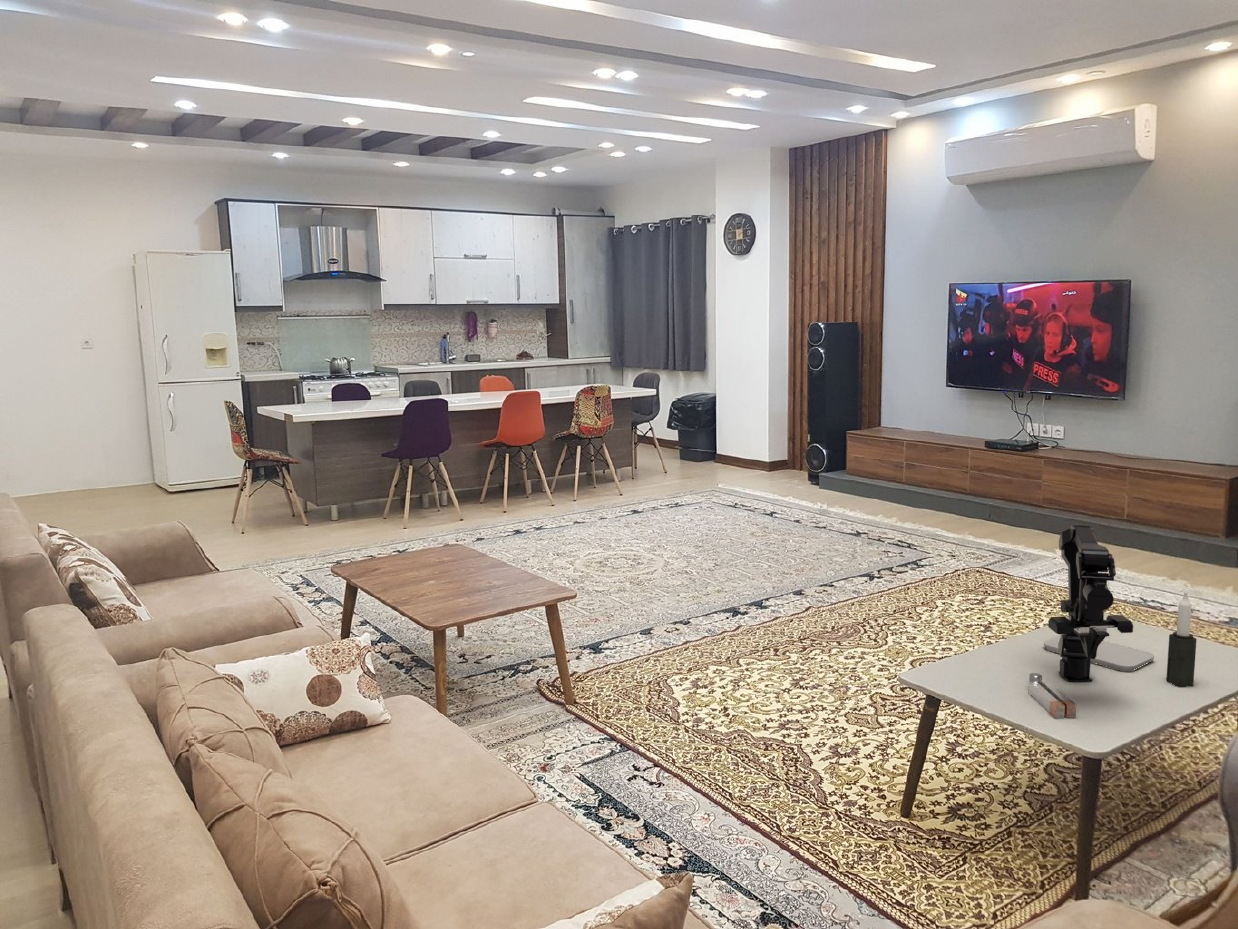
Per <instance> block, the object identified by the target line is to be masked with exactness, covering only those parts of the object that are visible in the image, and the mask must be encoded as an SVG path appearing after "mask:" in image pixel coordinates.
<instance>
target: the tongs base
mask: <svg viewBox="0 0 1238 929" xmlns="http://www.w3.org/2000/svg"><path fill="white" fill-rule="evenodd" d="M1028 678H1029V679H1028V694H1029V695H1030V696H1031V695H1032V696H1033V699H1034V700H1035V701H1036V702H1037V703H1039V705H1040V706H1042V707H1043V708H1044V709H1045V710H1046V711H1047V712H1048V713H1049V712H1050V713H1049V714H1050V716H1052V717H1053V719H1065V715H1064V709H1065V706H1064V705H1063V704H1062V703H1061V702H1060V701H1058V700H1056V699H1055V698H1054V697H1053V696H1052V695H1051V694H1050V693H1049V692H1048V691H1047V690H1045V689H1044V688H1043V687H1042V686H1041V681H1043V675H1042V674H1040V673H1038V672H1031V673H1029V674H1028ZM1032 696H1031V697H1032Z"/></svg>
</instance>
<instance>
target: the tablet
mask: <svg viewBox="0 0 1238 929" xmlns="http://www.w3.org/2000/svg"><path fill="white" fill-rule="evenodd" d="M1061 635H1063V634H1058V635H1056V636H1054V637H1051V638H1049V639H1047V640H1044V641H1043V646H1044V647H1045V649H1046V651H1048V650H1049V651H1048V652H1050V651H1052V652H1051V653H1054V652H1056V653H1055V654H1058V653H1059V652H1058V643H1059V640H1060V637H1061ZM1064 650H1065V649H1064ZM1154 659H1155V655H1154V654H1153V653H1151V652H1149V651H1145V650H1142V649H1138V648H1134V647H1130V646H1126V645H1124V644H1119V643H1114V642H1110V641H1107V640H1105V639H1104V640H1103V641H1102V642H1101V643H1100V645H1099V646H1098V649H1097V656H1096V658H1095V659H1091V661H1090V662H1092V663H1091V664H1093V663H1097V664H1101V665H1103V666H1102V667H1104V666H1107V667H1110V668H1109V669H1111V668H1112V670H1114V669H1116V670H1115V671H1118V670H1120V671H1119V672H1123V671H1131V672H1133V671H1132V670H1134V669H1136V668H1138V667H1140V666H1142V665H1144V664H1146V663H1149V662H1151V663H1152V661H1153V660H1154ZM1097 664H1096V665H1097ZM1149 664H1150V663H1149ZM1107 667H1106V668H1107ZM1140 668H1141V667H1140ZM1138 669H1139V668H1138ZM1136 670H1137V669H1136ZM1134 671H1135V670H1134Z"/></svg>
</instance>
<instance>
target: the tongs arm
mask: <svg viewBox="0 0 1238 929" xmlns="http://www.w3.org/2000/svg"><path fill="white" fill-rule="evenodd" d="M1041 686H1042V687H1043V688H1044V689H1045V690H1047V691H1048V692H1049V693H1050V694H1051V695H1052V696H1053V697H1054V698H1055V699H1056V700H1058V701H1060V702H1061V703H1062V704H1063V705H1064V706H1065V709H1064V717H1066V718H1077V707H1078V705H1077V704H1076V703H1075V701H1073V700H1072V699H1070V698H1069V697H1068V696H1066V695H1065V693H1063V691H1061V690H1060V689H1059V688H1058V687H1057V686H1056V685H1054V683H1052V682H1051V681H1050V680H1045V679H1044V680H1042V681H1041Z"/></svg>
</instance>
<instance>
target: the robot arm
mask: <svg viewBox="0 0 1238 929" xmlns="http://www.w3.org/2000/svg"><path fill="white" fill-rule="evenodd" d="M1058 549H1059V551H1060V552H1061V553H1060V554H1061V558H1062V560H1063V562H1064V563H1065V564H1066V566H1067V578H1068V579H1067V582H1068V584H1067V585H1068V587H1067V588H1068V589H1067V590H1068V599H1061V600H1060V612H1061V613H1067V614H1068V615H1067V616H1068V617H1066V616H1050V618H1049V619H1048V620H1047V624H1048V625H1047V627H1048V628H1049V629H1050V630H1051V631H1053V632H1054V633H1055V634H1057V635H1061V637H1060V640H1059V643H1058V652H1059V654H1058V655H1059V657H1061V659H1060V660H1059V670H1058V674H1059V675H1060V676H1061V677H1062V678H1064V679H1065V680H1066V681H1067V682H1073V683H1075V682H1093V678H1092V677H1090V676H1091V663H1090V661H1091V659H1095V658H1096V656H1097V649H1098V646H1099V645H1100V643H1101V642H1102V641H1103V640H1104V641H1105V638H1107V637H1110V635H1111V634H1110V633H1109V632H1108V629H1109V628H1110V629H1111V628H1112V629H1113V628H1114V629H1115V628H1117V629H1116V630H1118V632H1119V633H1121V634H1131V633H1134V624H1133V622H1132V621H1131V620H1130V619H1129V618H1128V617H1126V616H1125V615H1122V614H1113V615H1109V614H1108V615H1107V616H1106V619H1104V618H1105V617H1104V616H1105V611H1106V610H1108V609H1110V608H1111V607H1112V606H1113V604H1114V600H1115V598H1114V596H1113V593H1112V592H1111V589H1110V588H1109V587H1108V581H1111V582H1114V581H1115V577H1116V575H1117V570H1116V565H1115V564H1116V563H1115V558H1114V557H1113V554H1112V553H1110V551H1109V549H1108V548H1107V547H1106V546H1103V545H1100V544H1099V543H1098V541H1097V539H1096V533H1095V532H1094V528H1093V526H1092V525H1090V524H1080V523H1077V524H1076V523H1074V524H1071V525H1070V527H1069V528H1067V529H1066V530H1064V531H1062V532H1061V533H1060V535H1059V538H1058ZM1062 634H1063V635H1062ZM1064 649H1065V650H1064Z"/></svg>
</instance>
